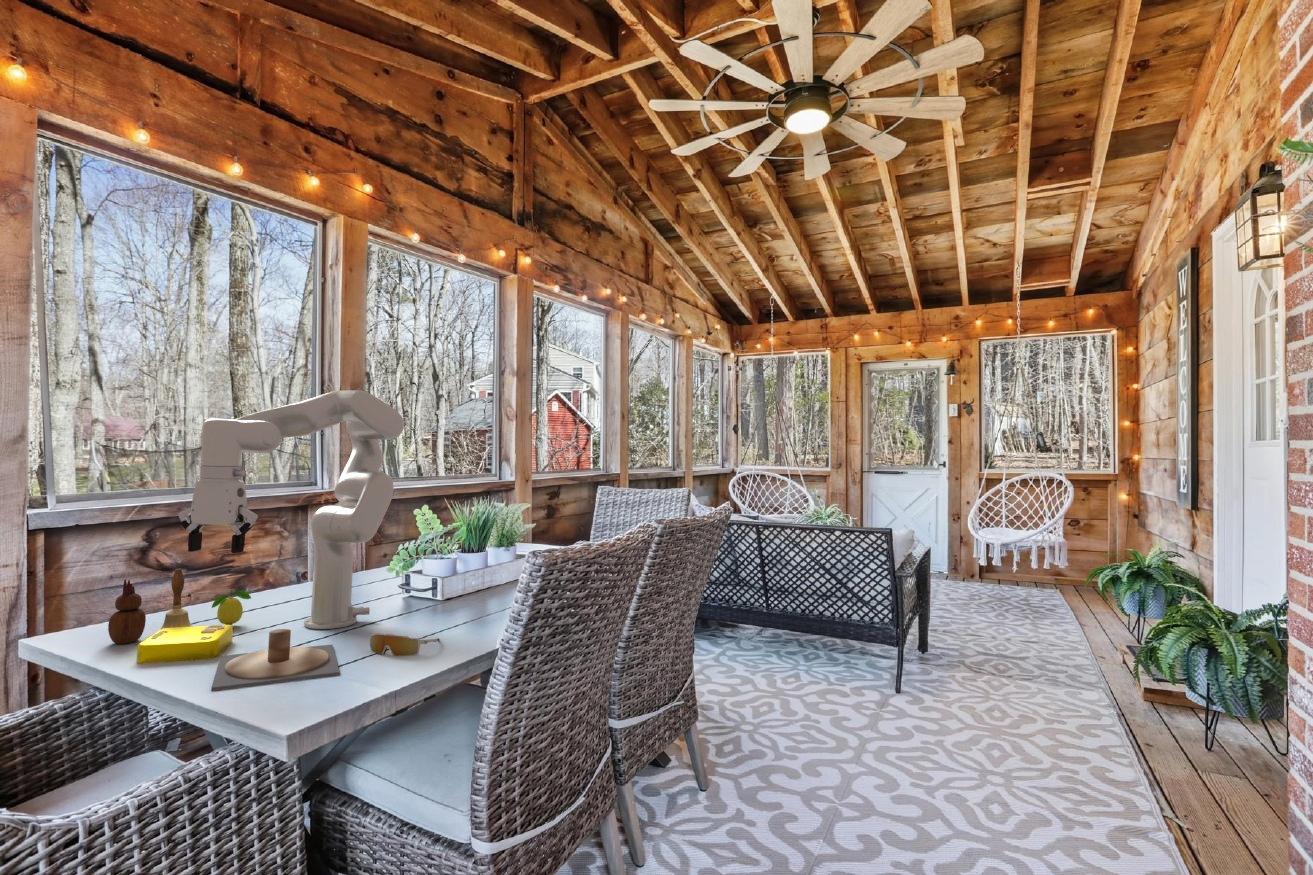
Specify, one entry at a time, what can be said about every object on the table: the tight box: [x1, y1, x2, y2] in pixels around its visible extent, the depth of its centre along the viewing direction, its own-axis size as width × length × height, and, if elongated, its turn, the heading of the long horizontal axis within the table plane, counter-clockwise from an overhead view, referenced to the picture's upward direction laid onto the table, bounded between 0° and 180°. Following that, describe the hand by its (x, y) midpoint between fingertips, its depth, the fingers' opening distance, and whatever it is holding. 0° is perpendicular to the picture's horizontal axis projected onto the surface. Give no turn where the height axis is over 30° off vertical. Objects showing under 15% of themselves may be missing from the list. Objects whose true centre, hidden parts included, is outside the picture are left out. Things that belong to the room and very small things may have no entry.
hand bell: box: [159, 568, 194, 630], centre depth 161 cm, size 8×8×16 cm
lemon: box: [211, 587, 252, 626], centre depth 169 cm, size 7×6×10 cm
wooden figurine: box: [107, 578, 147, 645], centre depth 153 cm, size 7×6×15 cm
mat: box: [210, 643, 341, 692], centre depth 139 cm, size 22×22×1 cm
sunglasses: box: [369, 633, 441, 657], centre depth 155 cm, size 14×15×5 cm
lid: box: [225, 628, 328, 679], centre depth 139 cm, size 19×19×7 cm
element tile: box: [136, 624, 234, 664], centre depth 147 cm, size 15×15×5 cm
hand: (216, 551), depth 144 cm, fingers open, 9 cm apart
